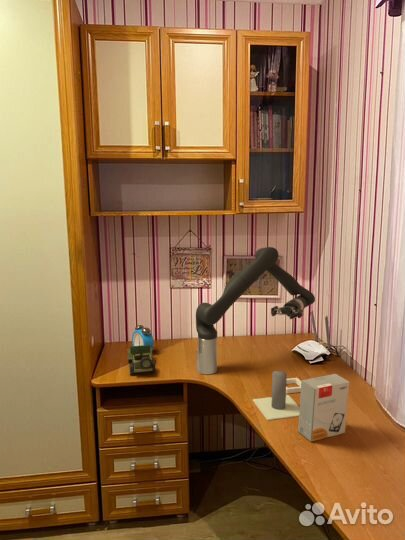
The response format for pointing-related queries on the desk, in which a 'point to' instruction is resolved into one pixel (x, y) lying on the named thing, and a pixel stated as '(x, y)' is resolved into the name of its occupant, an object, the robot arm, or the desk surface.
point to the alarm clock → (142, 336)
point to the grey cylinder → (279, 390)
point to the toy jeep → (140, 359)
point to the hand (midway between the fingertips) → (281, 315)
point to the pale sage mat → (272, 413)
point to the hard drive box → (323, 407)
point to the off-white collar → (293, 389)
